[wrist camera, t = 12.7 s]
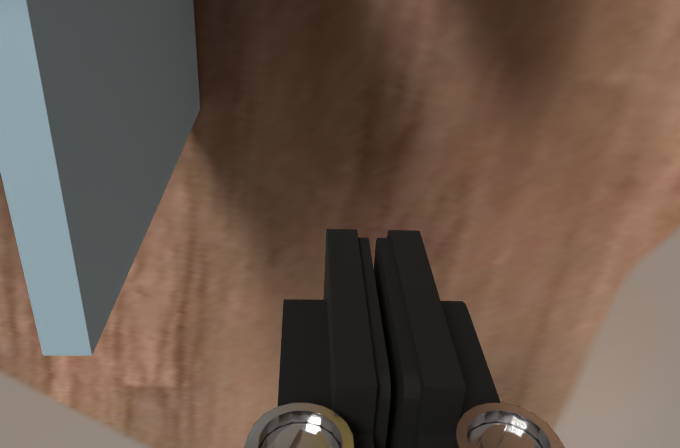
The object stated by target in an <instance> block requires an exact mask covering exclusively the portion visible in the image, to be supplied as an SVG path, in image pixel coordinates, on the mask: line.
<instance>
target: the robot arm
mask: <svg viewBox="0 0 680 448" xmlns="http://www.w3.org/2000/svg"><path fill="white" fill-rule="evenodd" d="M244 448H565V447H564V445H563V444H562V443H561V441H560V439H559V437H558V436H557V434H556V433H555V432H554V431H553V430H552V428H551V427H550V426H549V425H548V424H547V423H546V422H545V421H544V420H542V419H541V418H540V417H538V416H537V415H536V414H534V413H532V412H530V411H528V410H525V409H523V408H521V407H519V406H514V405H510V404H506V403H500V400H499V397H498V394H497V391H496V388H495V386H494V383H493V380H492V377H491V374H490V371H489V369H488V366H487V363H486V360H485V357H484V354H483V351H482V349H481V346H480V343H479V340H478V337H477V334H476V332H475V329H474V326H473V323H472V320H471V317H470V314H469V312H468V309H467V307H466V305H465V303H464V302H462V301H440V298H439V295H438V291H437V288H436V285H435V281H434V278H433V274H432V271H431V268H430V264H429V261H428V258H427V254H426V251H425V247H424V244H423V241H422V237H421V234H420V232H419V231H406V230H389V231H388V235H387V238H377V241H376V249H375V261H374V270H373V263H372V257H371V250H370V244H369V239H368V238H358V234H357V230H347V229H327V233H326V255H325V281H324V300H285V299H284V304H283V321H282V339H281V357H280V375H279V393H278V407H276V408H274V409H272V410H270V411H268V412H266V413H265V414H263V415H262V416H261V417H260V418H259V419H258V420H257V421H256V422H255V423H254V425H253V427H252V428H251V430H250V432H249V434H248V437H247V440H246V443H245V447H244Z"/></svg>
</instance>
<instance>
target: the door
mask: <svg viewBox="0 0 680 448" xmlns="http://www.w3.org/2000/svg"><path fill="white" fill-rule="evenodd" d="M199 111H200V98H199V82H198V66H197V51H196V35H195V20H194V4H193V0H0V172H1V177H2V181H3V185H4V190H5V194H6V198H7V203H8V207H9V211H10V216H11V220H12V224H13V228H14V233H15V237H16V241H17V246H18V250H19V254H20V259H21V263H22V267H23V271H24V276H25V280H26V284H27V289H28V293H29V297H30V302H31V306H32V310H33V314H34V319H35V323H36V327H37V332H38V336H39V340H40V345H41V349H42V353H43V355H74V356H92V354H93V352H94V350H95V347H96V345H97V343H98V340H99V338H100V336H101V334H102V331H103V329H104V327H105V325H106V322H107V320H108V318H109V315H110V313H111V311H112V309H113V306H114V304H115V302H116V300H117V297H118V295H119V293H120V290H121V288H122V286H123V284H124V281H125V279H126V277H127V275H128V272H129V270H130V268H131V265H132V263H133V261H134V259H135V256H136V254H137V252H138V250H139V247H140V245H141V243H142V240H143V238H144V236H145V234H146V231H147V229H148V227H149V225H150V222H151V220H152V218H153V215H154V213H155V211H156V209H157V206H158V204H159V202H160V200H161V197H162V195H163V193H164V190H165V188H166V186H167V184H168V181H169V179H170V177H171V175H172V172H173V170H174V168H175V165H176V163H177V161H178V159H179V156H180V154H181V152H182V150H183V147H184V145H185V143H186V140H187V138H188V136H189V134H190V131H191V129H192V127H193V125H194V122H195V120H196V118H197V115H198V113H199Z"/></svg>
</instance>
